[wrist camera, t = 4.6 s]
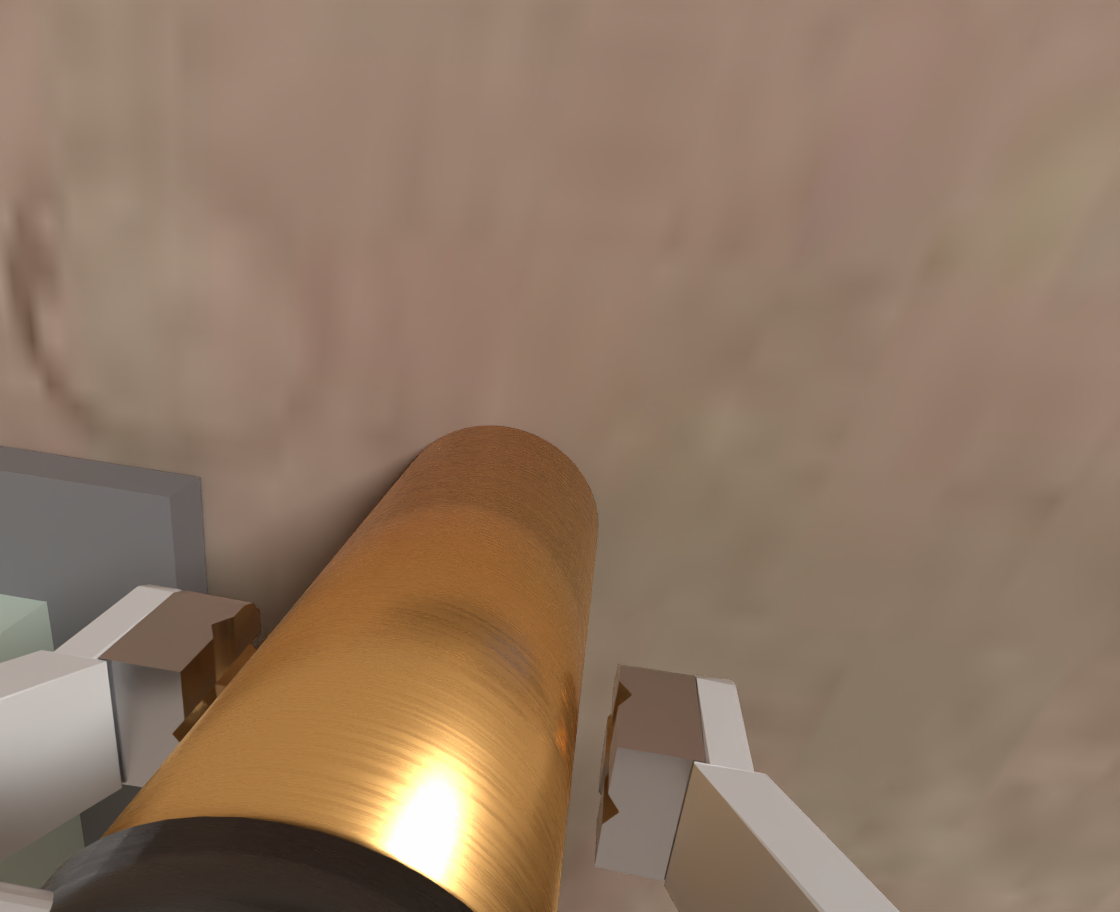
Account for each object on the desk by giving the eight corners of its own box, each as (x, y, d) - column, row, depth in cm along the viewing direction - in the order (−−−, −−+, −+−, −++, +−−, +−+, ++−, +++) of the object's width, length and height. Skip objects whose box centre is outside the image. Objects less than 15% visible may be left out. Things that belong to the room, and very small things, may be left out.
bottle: (587, 630, 15) (504, 1411, 5) (387, 597, 15) (-37, 1293, 5) (618, 438, 13) (579, 1048, 4) (395, 405, 13) (-173, 906, 4)
